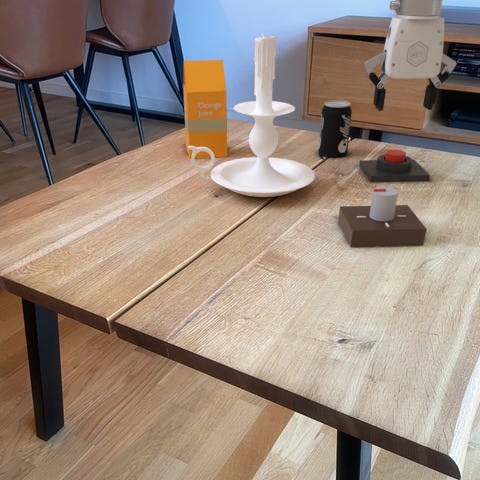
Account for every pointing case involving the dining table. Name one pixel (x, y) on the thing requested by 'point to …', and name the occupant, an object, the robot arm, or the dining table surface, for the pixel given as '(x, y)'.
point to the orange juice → (205, 107)
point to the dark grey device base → (393, 170)
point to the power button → (395, 156)
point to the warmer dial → (383, 203)
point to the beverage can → (334, 129)
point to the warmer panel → (381, 228)
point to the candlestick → (260, 140)
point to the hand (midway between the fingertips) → (403, 108)
